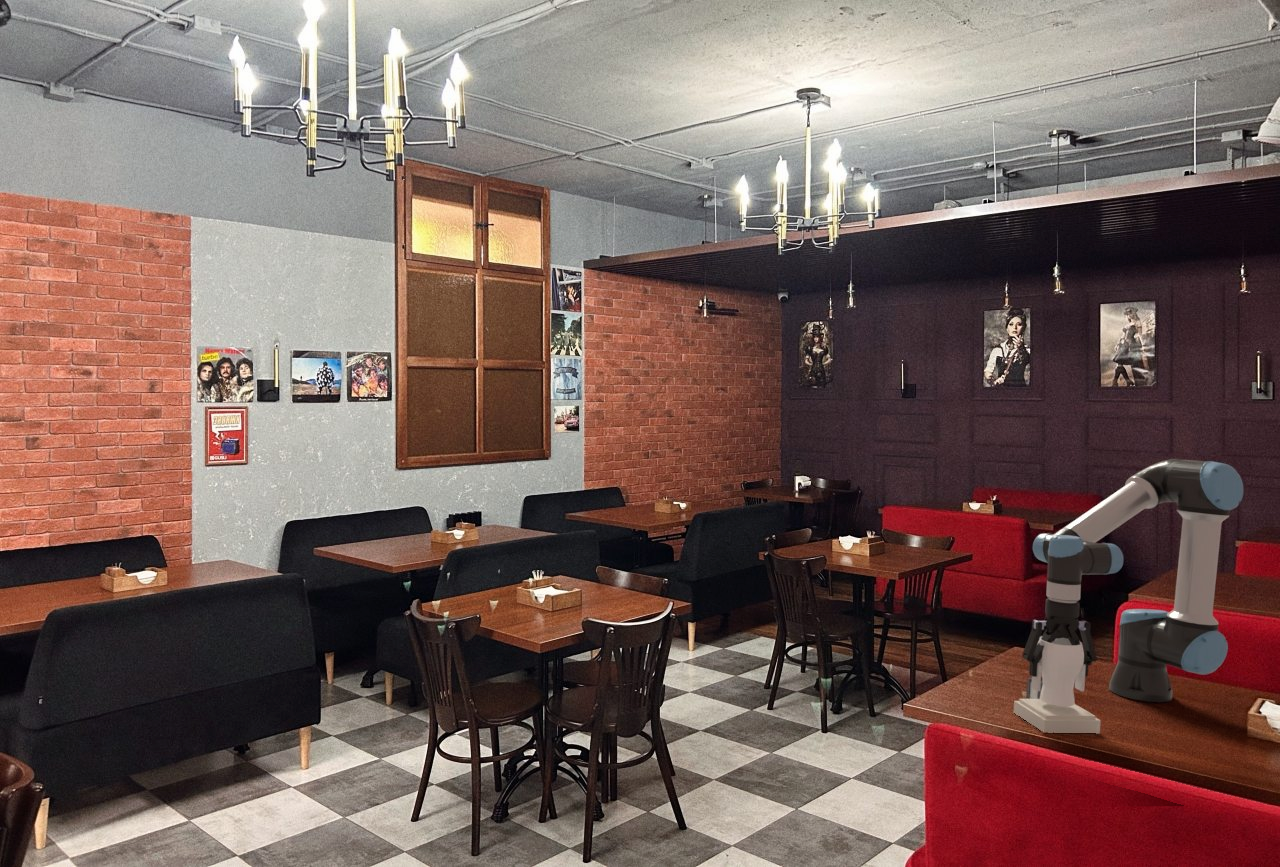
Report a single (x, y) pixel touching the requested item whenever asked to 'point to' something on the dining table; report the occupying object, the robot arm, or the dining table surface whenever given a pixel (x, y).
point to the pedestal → (1056, 717)
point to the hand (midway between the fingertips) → (1057, 689)
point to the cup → (1060, 670)
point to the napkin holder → (1031, 692)
